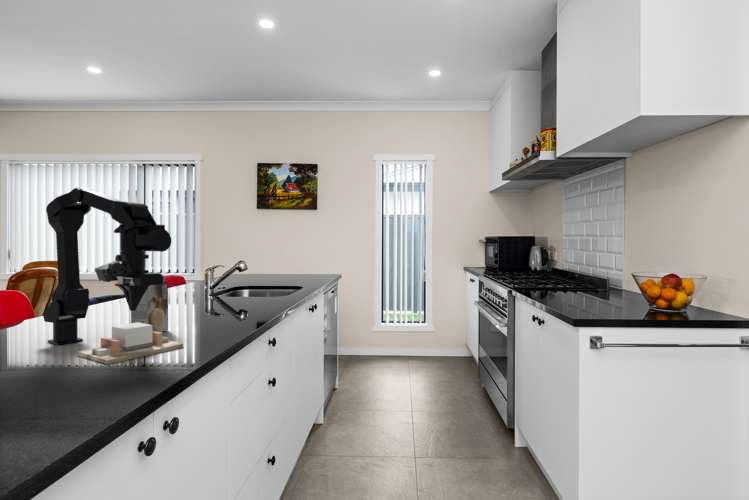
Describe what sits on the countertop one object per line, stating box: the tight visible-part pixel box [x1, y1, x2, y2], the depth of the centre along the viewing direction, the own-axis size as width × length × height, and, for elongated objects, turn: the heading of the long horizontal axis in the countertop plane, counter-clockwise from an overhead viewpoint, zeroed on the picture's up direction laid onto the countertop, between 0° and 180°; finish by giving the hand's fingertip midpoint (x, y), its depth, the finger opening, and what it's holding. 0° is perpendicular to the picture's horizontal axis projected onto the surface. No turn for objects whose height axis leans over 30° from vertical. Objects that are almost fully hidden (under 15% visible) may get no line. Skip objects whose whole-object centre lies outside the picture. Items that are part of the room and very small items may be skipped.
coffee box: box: [130, 280, 169, 333], centre depth 137 cm, size 9×6×16 cm
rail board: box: [76, 331, 184, 365], centre depth 115 cm, size 14×20×4 cm
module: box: [111, 322, 152, 351], centre depth 115 cm, size 7×7×6 cm
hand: (132, 310), depth 115 cm, fingers closed
